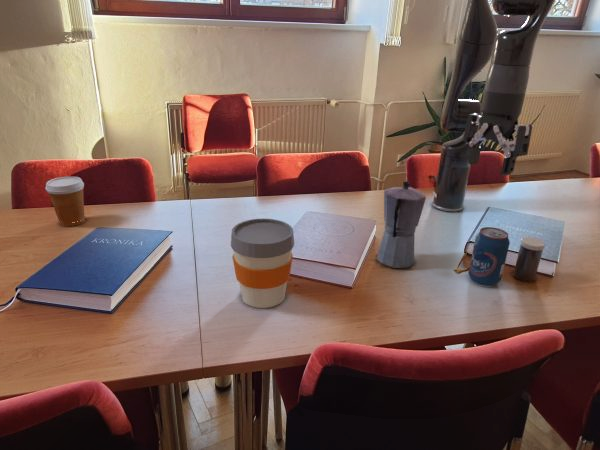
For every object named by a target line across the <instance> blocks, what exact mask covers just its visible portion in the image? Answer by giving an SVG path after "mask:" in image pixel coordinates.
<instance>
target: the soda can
mask: <svg viewBox="0 0 600 450" xmlns="http://www.w3.org/2000/svg"><path fill="white" fill-rule="evenodd" d="M510 244H511V242H510V239H509V233H508V232H507V231H506V230H504V229H501V228H498V227H494V226H493V227H492V226H484V227H481V228H480V230H479V232H478V233H477V234H476V236H475V239H474V243H473V249H472V252H471V257H470V263H469V267H468V276H469V278H470V280H471V281H472V283H473V284H476V285H477V286H480V287H483V288H484V287H485V288H492V287H495V286H496V285H498V284H499V283H500V282H501V281H502V277H503V274H504V269H505V265H506V261H507V257H508V254H509V253H508V252H509V247H510Z"/></svg>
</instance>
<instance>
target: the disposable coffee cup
mask: <svg viewBox="0 0 600 450" xmlns="http://www.w3.org/2000/svg"><path fill="white" fill-rule="evenodd" d="M84 187H85V182H84V181H83V179H82V178H81V177H78V176H61V177H56V178H52V179H50V180H48V181H47V182H46V183H45V187H44V189H45V191H46V192H47V193H48V195H49V198H50V201H51V204H52V207H53V210H54V212H55V215H56V217H57V220H58V222H59V221H60V222H59V225H60V226H62V227H75V226H79V225H81V224H83V223H85V220H86V219H85V203H84V202H85V200H84V197H85V196H84ZM83 218H84V219H83ZM82 219H83V220H82ZM80 220H81V221H80ZM77 221H78V222H77ZM61 222H62V223H61ZM72 222H75V223H72Z"/></svg>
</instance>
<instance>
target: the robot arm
mask: <svg viewBox="0 0 600 450" xmlns="http://www.w3.org/2000/svg"><path fill="white" fill-rule="evenodd" d="M555 2H556V0H491V5H492V9H493V11H494V12H495V13H496V14H498V15H500V16H502V17H503V16H505V17H527V19H526V21H525V23H524V24H523V25H522V26H520V27H518V28H513V29H507V30H502V31H500V32H498V31H499V30H498V25H497V21H496V18H495V16H494V13H493V11H492V9H491V6H490V2H489V0H467V2H466V7H465V11H464V15H463V20H462V24H461V27H460V32H459V35H458V40H457V45H456V50H455V55H454V56H455V57H454V61H453V65H452V73H451V77H450V81H449V84H448V88H447V92H446V95H445V98H444V101H443V106H442V109H441V114H440V122H439V123H440V128H441V130H442V131H445V132H450V133H451V132H453V133H462V134H461V135H460V136H459V137H457V138H455V139H452V140H449V141H445V142H444V143H442V145H441V147H440V149H441V150H440V155H439V161H438V169H437V175H436V176H435V175H434V174H433V176H431V174H429V176H428V177H429V178H433V180H434V183H435V187H434V188H435V189H434V190H433V192H432V196H433V199H432V200H433V201H432V207H433V208H435V209H437V210H439V211H443V212H453V213H454V212H460V211H462V210H464V202H465V198H466V192H467V187H468V182H469V176H470V172H471V166H472V165H474V166H475V165H478V164H479V161H480V156H481V150H482V147H481V146H482V145H483V143H484V142H485V141H493V142H494V143H498V144H499V146H500V148H502V149H503V153H504V155H505V156H504V157H503V160H502V166H501V171H500V174H501V176H510V175H511V174H512V173H513V172H514V171H515V165H516V161H517V159H518V157H519V158H520V157H525V156H527V155H528V153H529V147H530V142H531V138H532V137H531V136H532V131H533V126H532V124H519V117H520V115H521V114H522V110H523V107H524V102H525V97H526V94H527V93H526V92H527V89H528V83H529V79H530V70H531V69H530V68H531V63H532V59H533V55H534V51H535V46H536V42H537V40H538V37H539V35H540V32H541V29H542V27H543V25H544V23H545V21H546V19H547V17H548V15H549V13H550V11H551V9H552V7H553V5H554V4H555ZM489 62H490V64H489V68H488V70H487V74H486V77H485V84H484V87H483V94H482V99H481V102H480V101H479V100H476V99H475V100H474V99H473V100H472V99H460V97H461V95H462V94H463V92H464V90H465V89H466V87H468V85H469V84H470V83H471V82H472V80H473V79H474V78H476V76H477V75H479V74H480V73H481V71H482V70H483V69H484V68H485V67H486V66H487V65H488V63H489ZM515 135H516V136H515Z"/></svg>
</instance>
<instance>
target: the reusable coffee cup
mask: <svg viewBox="0 0 600 450" xmlns="http://www.w3.org/2000/svg"><path fill="white" fill-rule="evenodd" d="M230 235H231V236H230V247H231V250H232V251H233V254H232V262H233V267H234V273H235V278H236V280H237V282H238V284H239V289H240V294H241V299H242V301H243V302H244V303H245V304H246V305H248V306H250V307H253V308H258V309H267V308H272V307H275V306H277V305H279V304H281V303H282V302H283V301H284V299H285V296H286V289H287V284H288V281H289V279H290V277H291V270H292V265H293V258H294V255H293V252H292V251H293V248H294V247H295V235H294V229H293V227H292V226H291V224H289V223H287V222H285V221H282V220H279V219H274V218H252V219H247V220H244V221H241V222H238V223H237V224H236V225H234V226H233V227H232V229H231V234H230Z"/></svg>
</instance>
